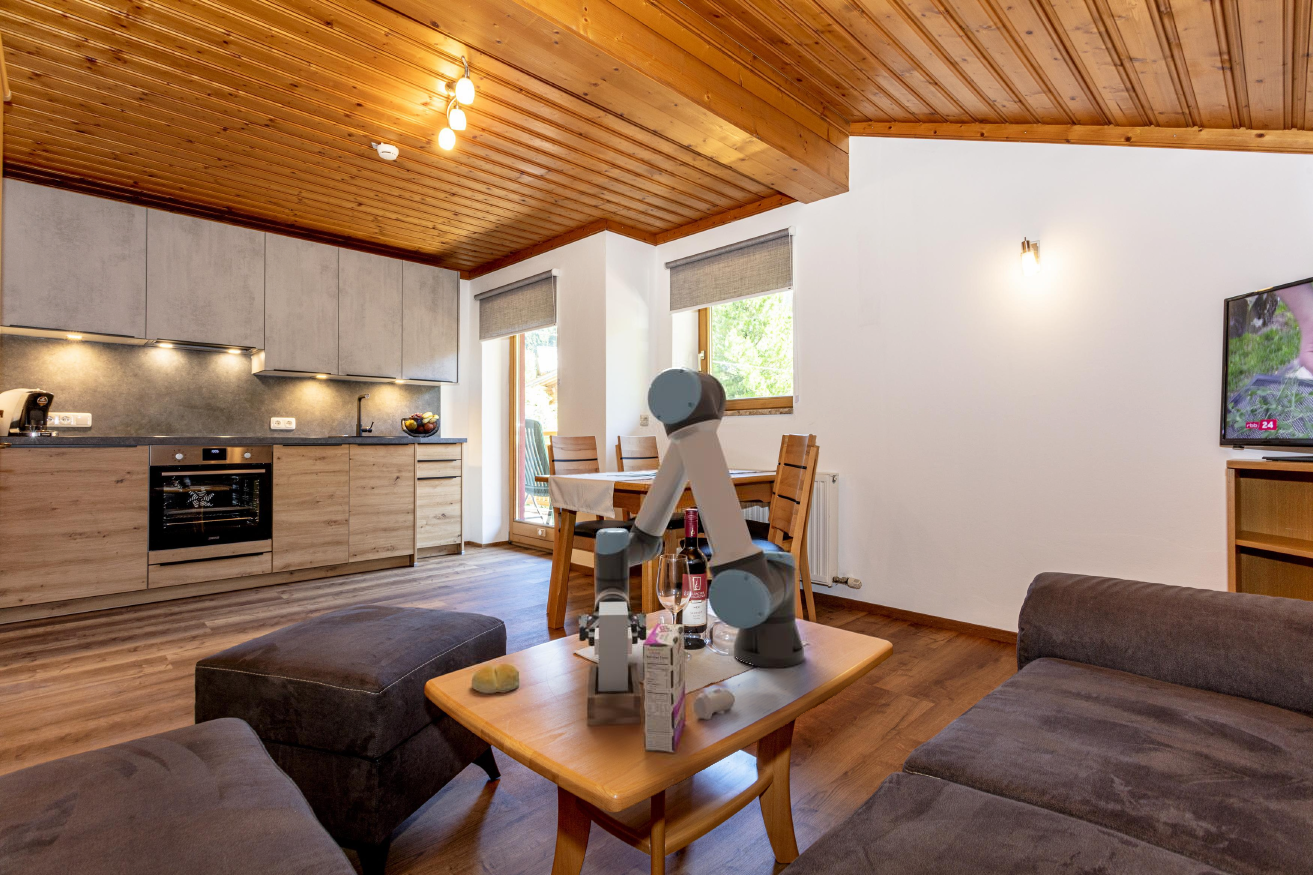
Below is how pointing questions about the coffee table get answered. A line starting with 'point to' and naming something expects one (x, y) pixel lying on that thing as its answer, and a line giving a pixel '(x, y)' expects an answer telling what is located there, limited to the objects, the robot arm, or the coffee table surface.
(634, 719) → the open brown box
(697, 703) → the pale two-lobed sculpture
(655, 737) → the candy bar box
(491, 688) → the bread roll
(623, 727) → the coffee table surface
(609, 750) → the coffee table surface
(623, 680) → the grey box
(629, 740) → the coffee table surface
